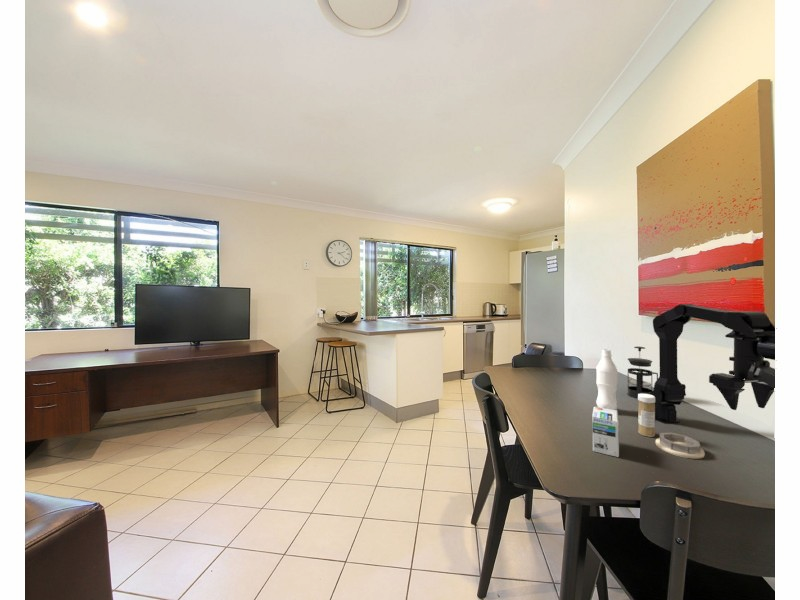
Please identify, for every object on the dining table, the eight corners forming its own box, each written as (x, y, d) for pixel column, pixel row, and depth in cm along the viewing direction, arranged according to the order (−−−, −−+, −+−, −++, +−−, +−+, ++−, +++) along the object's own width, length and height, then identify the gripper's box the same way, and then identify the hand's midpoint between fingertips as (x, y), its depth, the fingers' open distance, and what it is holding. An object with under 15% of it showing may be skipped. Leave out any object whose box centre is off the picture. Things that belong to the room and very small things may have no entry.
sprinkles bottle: (639, 430, 106) (639, 392, 106) (656, 434, 102) (656, 395, 102) (636, 434, 103) (636, 395, 102) (654, 438, 99) (654, 398, 99)
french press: (624, 396, 140) (624, 347, 139) (626, 391, 147) (626, 344, 146) (657, 402, 132) (657, 349, 131) (658, 396, 139) (658, 346, 138)
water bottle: (610, 407, 127) (610, 348, 126) (621, 414, 120) (621, 351, 119) (592, 406, 128) (592, 348, 127) (602, 413, 120) (602, 351, 120)
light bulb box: (619, 458, 88) (619, 421, 88) (592, 451, 92) (591, 416, 92) (618, 443, 97) (618, 409, 97) (593, 437, 101) (593, 405, 101)
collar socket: (646, 441, 98) (646, 432, 98) (677, 439, 99) (677, 430, 99) (681, 460, 87) (681, 449, 87) (715, 457, 88) (715, 447, 88)
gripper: (756, 363, 78) (754, 422, 78) (817, 360, 80) (815, 418, 80) (707, 354, 89) (707, 406, 89) (762, 351, 91) (761, 403, 91)
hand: (747, 408), depth 87 cm, fingers open, 9 cm apart
